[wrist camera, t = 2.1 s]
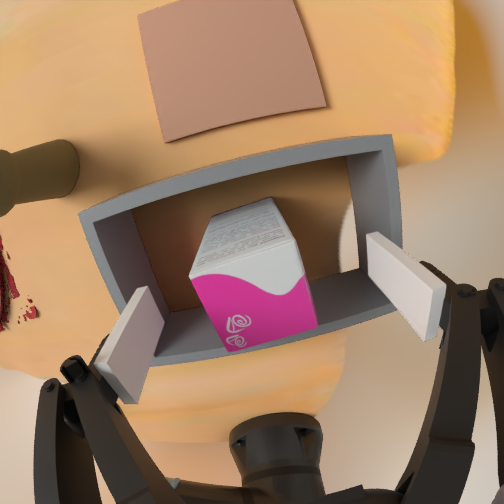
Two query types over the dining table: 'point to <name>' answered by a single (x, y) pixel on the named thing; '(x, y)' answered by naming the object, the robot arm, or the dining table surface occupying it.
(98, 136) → the dining table surface
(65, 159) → the cork
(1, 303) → the plate with food
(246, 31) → the mat
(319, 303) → the rectangular frame
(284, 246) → the supplement box
